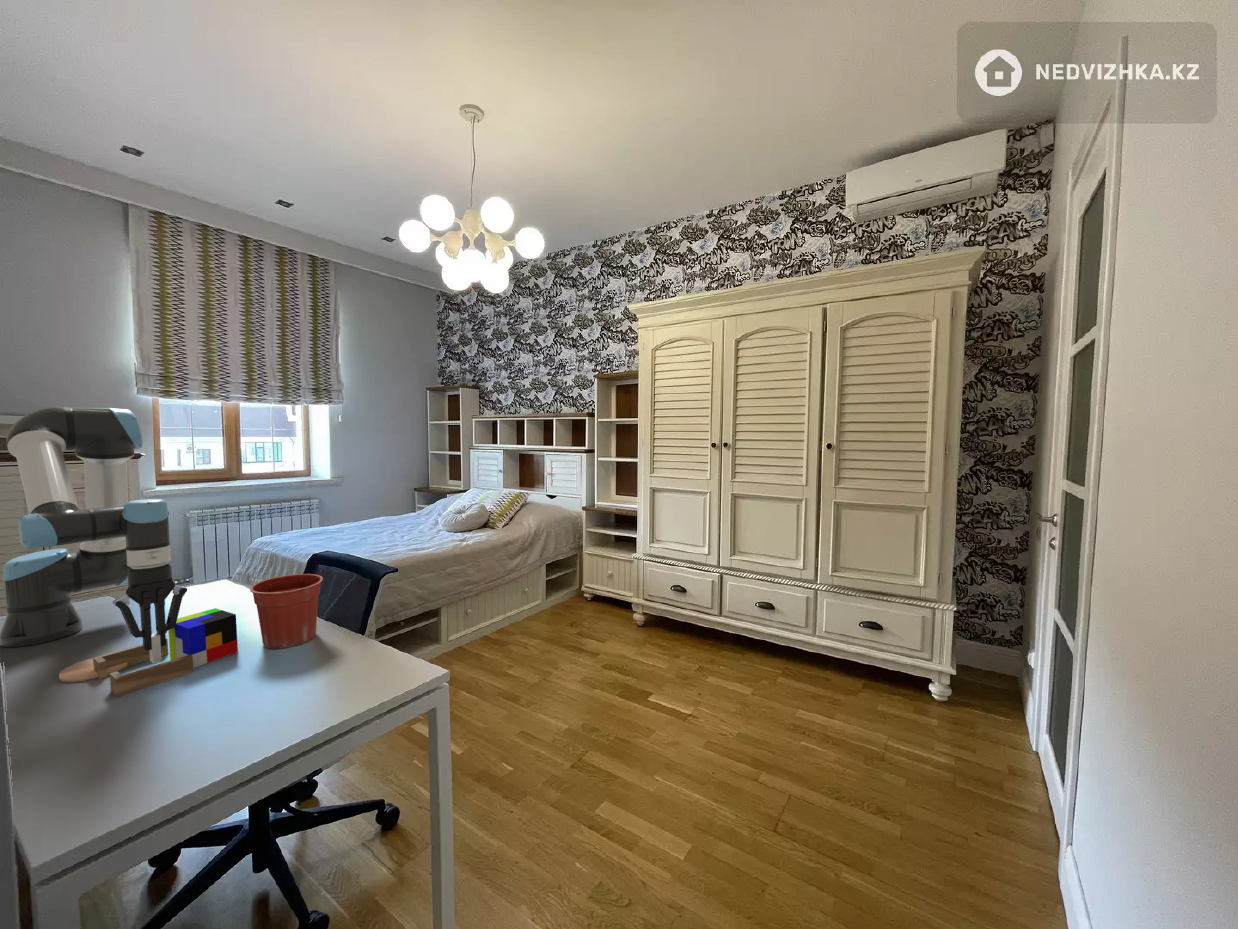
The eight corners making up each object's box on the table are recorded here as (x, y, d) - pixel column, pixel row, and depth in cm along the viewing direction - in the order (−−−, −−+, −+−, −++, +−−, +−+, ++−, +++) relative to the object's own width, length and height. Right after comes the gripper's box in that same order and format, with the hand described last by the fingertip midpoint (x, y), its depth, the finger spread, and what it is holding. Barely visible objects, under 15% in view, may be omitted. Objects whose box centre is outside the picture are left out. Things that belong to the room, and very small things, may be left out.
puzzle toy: (190, 668, 117) (188, 628, 117) (170, 660, 122) (167, 621, 121) (237, 651, 126) (235, 614, 126) (217, 644, 131) (215, 608, 130)
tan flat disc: (53, 673, 115) (53, 669, 115) (124, 653, 125) (123, 649, 125) (65, 687, 109) (65, 683, 109) (139, 665, 119) (138, 661, 119)
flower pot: (328, 642, 132) (326, 584, 131) (253, 659, 122) (249, 597, 121) (321, 623, 145) (319, 570, 144) (252, 637, 135) (249, 580, 134)
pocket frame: (94, 674, 115) (92, 657, 115) (166, 652, 126) (165, 637, 125) (117, 697, 105) (115, 679, 105) (193, 671, 116) (192, 655, 116)
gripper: (115, 574, 108) (122, 676, 109) (190, 561, 119) (195, 654, 120) (106, 568, 112) (113, 668, 113) (179, 556, 123) (185, 647, 124)
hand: (155, 661), depth 117 cm, fingers closed
